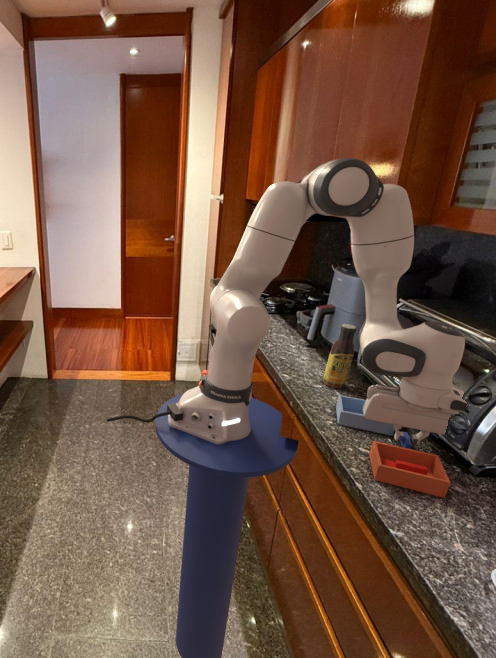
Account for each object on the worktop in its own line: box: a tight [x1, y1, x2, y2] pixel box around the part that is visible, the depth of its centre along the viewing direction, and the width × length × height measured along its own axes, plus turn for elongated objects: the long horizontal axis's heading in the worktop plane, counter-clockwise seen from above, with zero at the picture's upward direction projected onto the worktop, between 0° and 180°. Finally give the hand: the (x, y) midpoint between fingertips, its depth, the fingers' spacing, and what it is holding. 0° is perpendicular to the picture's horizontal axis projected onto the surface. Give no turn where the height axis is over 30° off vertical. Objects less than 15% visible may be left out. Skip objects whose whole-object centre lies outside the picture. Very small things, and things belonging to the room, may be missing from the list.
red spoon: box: [382, 460, 428, 475], centre depth 85 cm, size 8×3×2 cm, turn 64°
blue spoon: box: [399, 430, 414, 450], centre depth 93 cm, size 8×3×2 cm, turn 154°
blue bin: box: [335, 394, 395, 437], centre depth 104 cm, size 12×9×4 cm
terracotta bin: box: [368, 440, 451, 499], centre depth 84 cm, size 12×9×4 cm
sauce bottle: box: [322, 323, 357, 389], centre depth 119 cm, size 7×6×20 cm
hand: (406, 441), depth 93 cm, fingers closed
